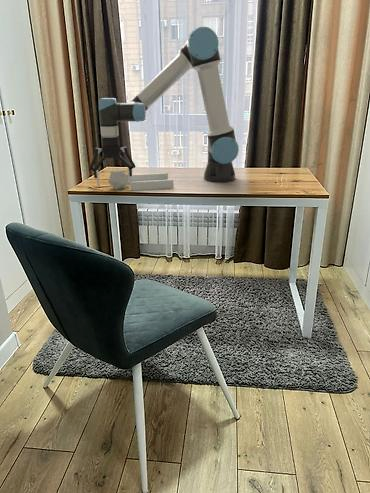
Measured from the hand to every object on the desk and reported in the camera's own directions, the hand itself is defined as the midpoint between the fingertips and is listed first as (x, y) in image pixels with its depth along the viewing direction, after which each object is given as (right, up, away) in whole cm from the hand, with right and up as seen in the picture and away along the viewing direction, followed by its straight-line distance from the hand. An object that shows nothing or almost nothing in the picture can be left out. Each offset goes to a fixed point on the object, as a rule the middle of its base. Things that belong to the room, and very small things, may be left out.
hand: (113, 184), depth 181 cm
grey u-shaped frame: (+16, 0, +4) cm, 17 cm away
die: (+3, -2, -1) cm, 4 cm away
